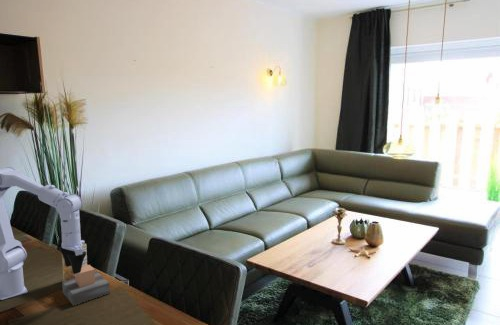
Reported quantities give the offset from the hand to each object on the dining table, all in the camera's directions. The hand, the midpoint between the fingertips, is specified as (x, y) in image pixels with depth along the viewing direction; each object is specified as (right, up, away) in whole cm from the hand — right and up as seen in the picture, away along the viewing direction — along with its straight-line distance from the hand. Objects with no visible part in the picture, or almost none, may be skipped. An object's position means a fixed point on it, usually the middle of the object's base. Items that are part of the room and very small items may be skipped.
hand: (73, 269), depth 123 cm
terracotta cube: (+3, -5, +3) cm, 7 cm away
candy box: (-4, -9, +11) cm, 15 cm away
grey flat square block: (+3, -9, +3) cm, 10 cm away
